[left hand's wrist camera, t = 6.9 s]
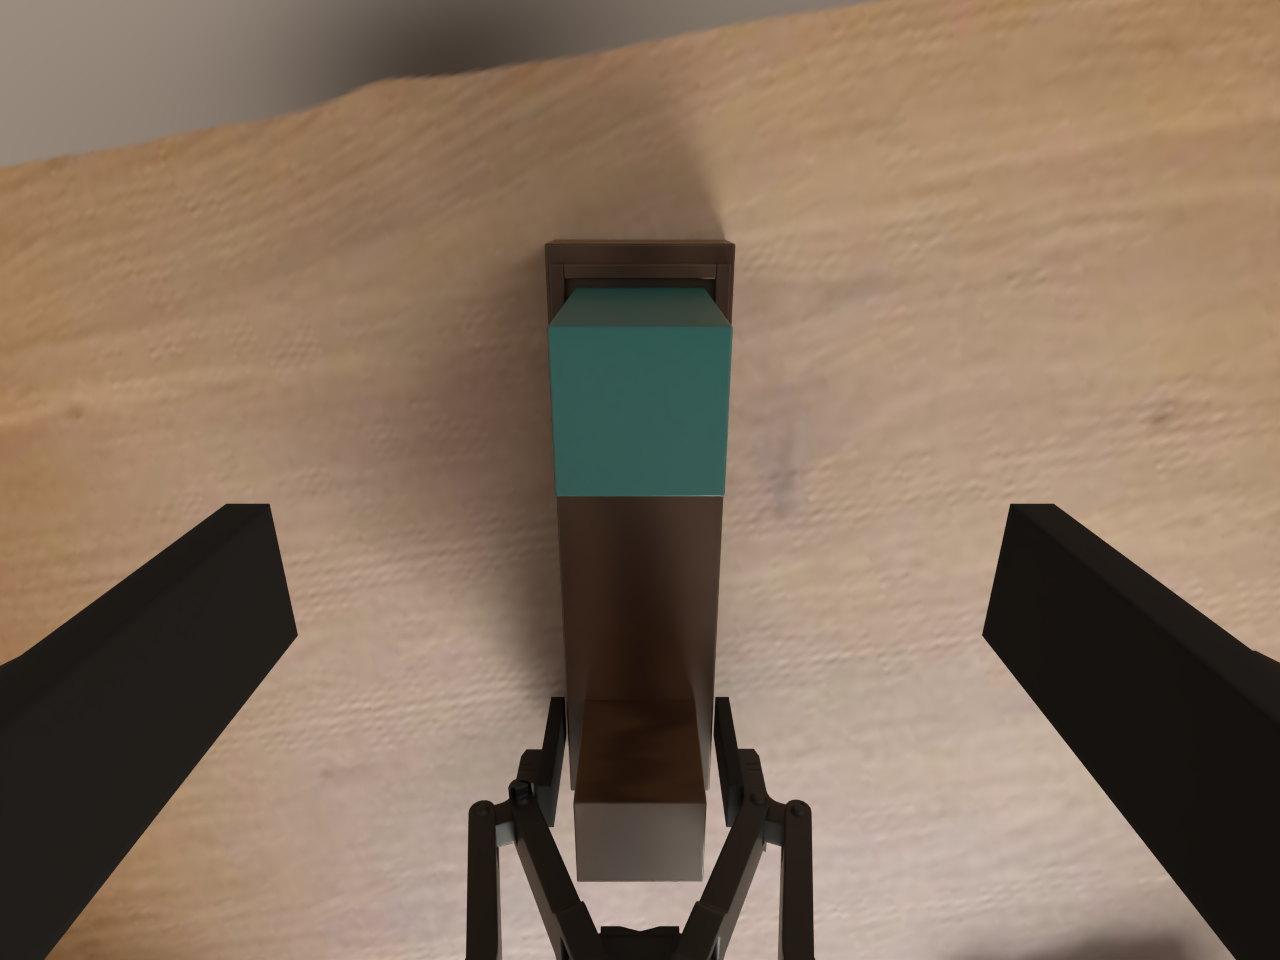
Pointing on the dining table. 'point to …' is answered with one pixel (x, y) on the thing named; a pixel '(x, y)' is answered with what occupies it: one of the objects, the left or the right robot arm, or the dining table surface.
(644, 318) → the cap block
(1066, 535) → the left robot arm
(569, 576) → the holder
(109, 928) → the dining table surface
